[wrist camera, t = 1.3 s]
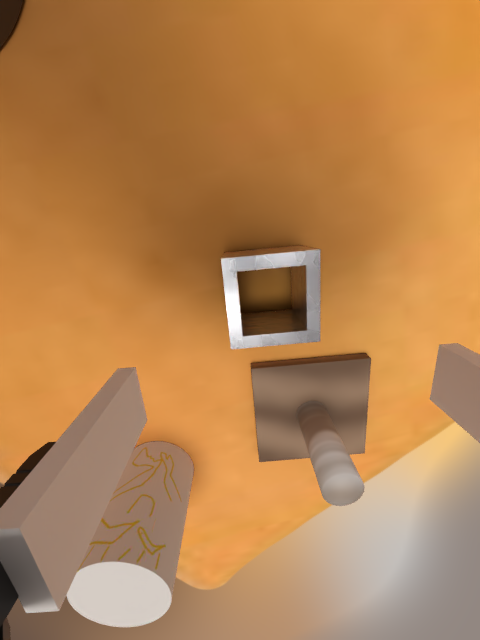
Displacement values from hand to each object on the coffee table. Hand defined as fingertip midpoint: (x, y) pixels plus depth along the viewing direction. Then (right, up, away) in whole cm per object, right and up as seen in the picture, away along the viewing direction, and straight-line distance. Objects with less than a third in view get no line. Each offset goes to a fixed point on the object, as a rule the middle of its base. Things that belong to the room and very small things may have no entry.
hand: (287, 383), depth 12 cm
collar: (0, +6, +14) cm, 15 cm away
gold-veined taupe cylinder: (-12, -15, +21) cm, 28 cm away
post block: (+6, -7, +18) cm, 20 cm away
